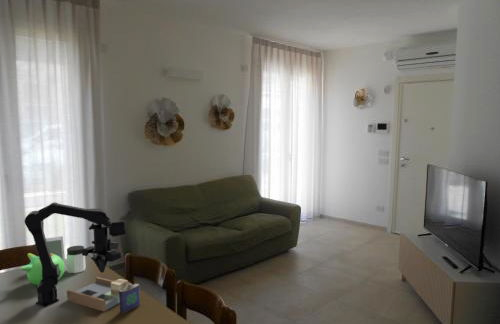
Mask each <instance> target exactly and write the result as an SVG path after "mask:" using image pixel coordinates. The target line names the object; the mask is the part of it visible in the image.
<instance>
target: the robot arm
mask: <svg viewBox="0 0 500 324" xmlns="http://www.w3.org/2000/svg"><path fill="white" fill-rule="evenodd" d="M55 214H57V215H62V216H63V215H64V216H68V217H73V218H79V219H83V220H86V221H88V222H90V224H91V225H89V226H88V230H90V231H91V230H93V240H92V241H91V244H93V245H94V246H93V245H91V246H87V247H84V249H83V251H82V255H83V256H85V257H87V256H89V254H91V255H92V256H91V257H90V258H91V259H90V260H92V261H93V263H94V264H95V265H96V266H95V267H97V269H98V270H99V272H100V273H105V270H106V267H107V263H108V262H112V263H113V262H114V261H117V260H120V259H122V252H121V251H119V250H118V249H119V247H120V246H119V245H120V243H119V242H116V241H112V240H111V239H110V238H109V236H110V237H112V238H116V237H117V238H118V237H124V236H126V226H125V220H119V221H118V220H117V221H116V220H115V221H112V220H111V219H110V217H109V216H108V215H107V211H106V210H105V209H103V208H83V207H79V206H72V205H68V204H67V205H66V204H64V203H63V204H61V203H58V202H51V203H50V204H48V205H46V206H44V207H42V208H41V209H39V210H33V211H30V212H29V213H28V214H27V215H26V217H25V218H24V224H25V226H26V228H27V230H28V232H29V233H30V234H31V235H32V238H33V240H34V244H35V248H36V251H37V254H38V256H39V258H40V261H41V265H42V280H41V281H40V283H39V285H38V286H37V288H36V290H37V301H36V302H35V305H38V306H40V307H45V308H46V307H48V306H50V305H52V304H55V303H57V302H59V301H60V299H59V298H58V289H57V288H56V287H57V286H56V285H57V284H58V282H59V280H60V279H59V276H60V273H61V271H60V269H59V264H56V265H55V264H54V263H53V261H52V258H51V255H50V251H49V248H48V245H47V241H46V238H47V237H46V235H45V229H44V227H45V225H44V222H45V221H44V220H46V219H48V218H49V217H51V216H52V215H55ZM108 234H109V235H108ZM117 250H118V251H117ZM58 279H59V280H58Z"/></svg>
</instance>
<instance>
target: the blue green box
mask: <svg viewBox="0 0 500 324" xmlns="http://www.w3.org/2000/svg"><path fill="white" fill-rule="evenodd" d="M140 295H141V294H140V284H139V283H134V284H133V283H130V282H128V286H127V288H125V289H123V288H122V289H121V290H120V291H119V300H120V303H119V309H120V311H119V312H120V314H125V313H128V312H131V311H133V310H134V309H137V308H138V307H139V306H141V299H140V298H141V297H140Z"/></svg>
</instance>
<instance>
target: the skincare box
mask: <svg viewBox="0 0 500 324" xmlns="http://www.w3.org/2000/svg"><path fill="white" fill-rule="evenodd" d="M45 238H46V241H47V245H48V248H49V251H50V253H52V254H55V255H57V256H59V257H60V258H61V259H62V260H63V262H64V266H65V265H66V256H65V246H64V237H63V236H55V237H45Z"/></svg>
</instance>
